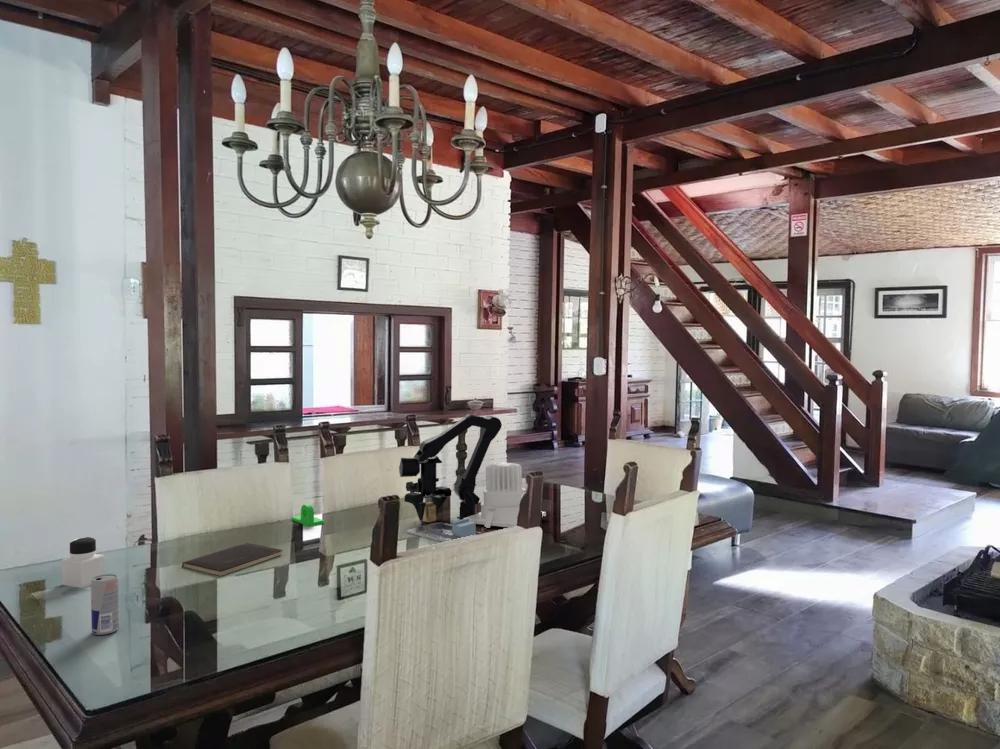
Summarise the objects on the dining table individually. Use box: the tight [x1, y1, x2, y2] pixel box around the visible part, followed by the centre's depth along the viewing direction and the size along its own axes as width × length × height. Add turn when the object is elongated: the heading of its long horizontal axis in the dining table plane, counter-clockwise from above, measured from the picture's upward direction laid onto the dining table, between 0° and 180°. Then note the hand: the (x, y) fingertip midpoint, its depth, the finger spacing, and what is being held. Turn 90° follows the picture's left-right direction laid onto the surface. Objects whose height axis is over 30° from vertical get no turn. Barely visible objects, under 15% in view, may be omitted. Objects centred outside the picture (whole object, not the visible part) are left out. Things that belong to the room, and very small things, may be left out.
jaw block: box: [419, 501, 437, 524], centre depth 262 cm, size 4×4×7 cm
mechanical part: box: [291, 503, 325, 528], centre depth 258 cm, size 12×6×8 cm, turn 44°
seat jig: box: [406, 521, 481, 543], centre depth 245 cm, size 14×22×3 cm, turn 50°
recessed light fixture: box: [463, 461, 547, 529], centre depth 263 cm, size 25×22×21 cm
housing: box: [451, 518, 477, 537], centre depth 239 cm, size 7×4×5 cm, turn 140°
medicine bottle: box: [61, 536, 105, 589], centre depth 193 cm, size 7×7×12 cm
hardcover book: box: [181, 542, 284, 577], centre depth 214 cm, size 16×23×2 cm
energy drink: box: [90, 573, 120, 636], centre depth 162 cm, size 5×5×12 cm
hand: (428, 518), depth 262 cm, fingers open, 7 cm apart
